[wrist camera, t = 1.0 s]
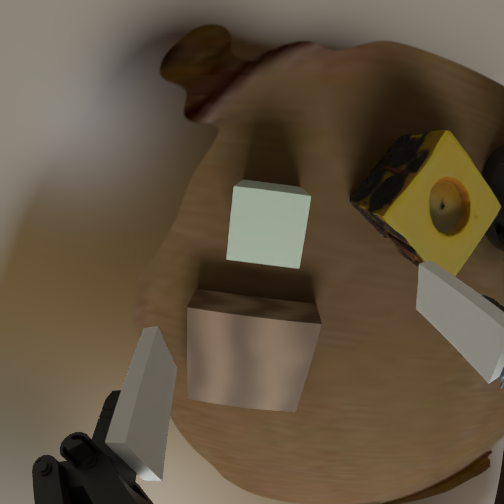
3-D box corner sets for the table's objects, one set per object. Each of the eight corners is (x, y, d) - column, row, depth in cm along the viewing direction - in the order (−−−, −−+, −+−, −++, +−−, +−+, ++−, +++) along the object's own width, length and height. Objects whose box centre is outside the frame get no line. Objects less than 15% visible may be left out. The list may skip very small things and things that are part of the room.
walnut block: (315, 302, 34) (321, 324, 29) (293, 386, 38) (295, 411, 34) (197, 287, 34) (187, 307, 29) (195, 374, 39) (187, 398, 34)
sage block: (300, 186, 30) (311, 196, 22) (292, 242, 32) (299, 268, 24) (242, 179, 30) (233, 186, 22) (236, 235, 32) (226, 259, 24)
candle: (403, 257, 31) (445, 292, 22) (345, 201, 30) (377, 220, 20) (452, 194, 29) (504, 209, 19) (399, 133, 27) (448, 126, 18)
